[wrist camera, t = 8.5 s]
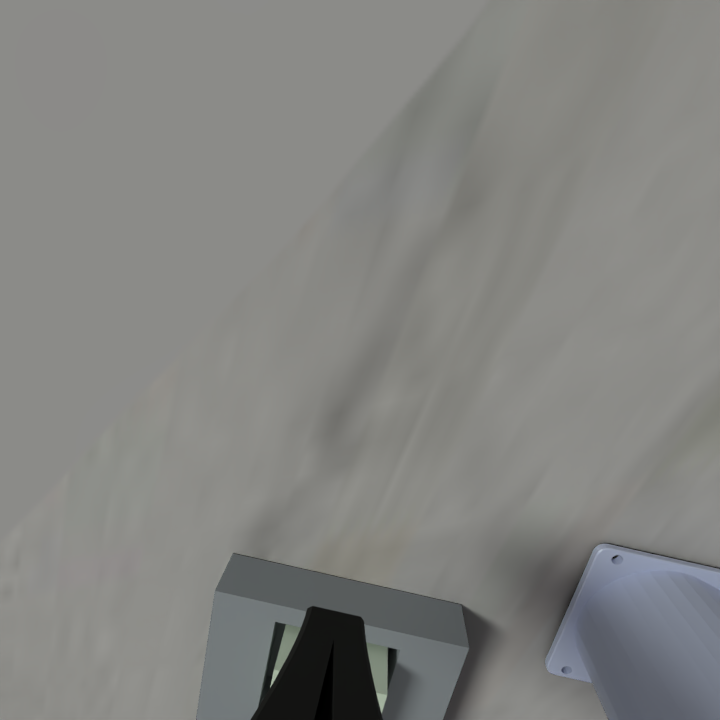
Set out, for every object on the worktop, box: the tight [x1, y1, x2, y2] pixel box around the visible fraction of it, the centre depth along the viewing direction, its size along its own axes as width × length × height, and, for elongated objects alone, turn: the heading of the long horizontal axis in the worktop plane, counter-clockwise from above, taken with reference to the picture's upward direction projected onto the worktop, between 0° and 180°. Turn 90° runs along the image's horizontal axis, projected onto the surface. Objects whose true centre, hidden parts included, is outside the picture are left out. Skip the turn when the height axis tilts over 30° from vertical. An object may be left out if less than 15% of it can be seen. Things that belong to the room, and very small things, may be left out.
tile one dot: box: [270, 624, 388, 714], centre depth 22 cm, size 5×5×4 cm
